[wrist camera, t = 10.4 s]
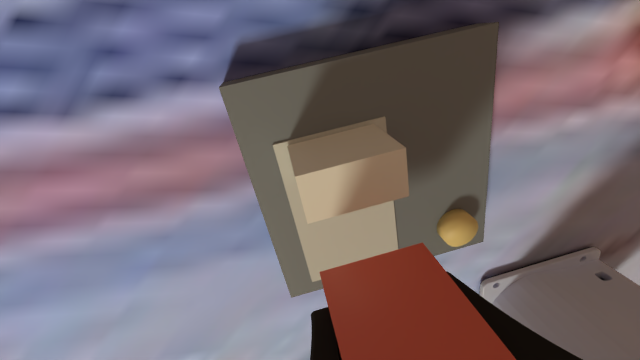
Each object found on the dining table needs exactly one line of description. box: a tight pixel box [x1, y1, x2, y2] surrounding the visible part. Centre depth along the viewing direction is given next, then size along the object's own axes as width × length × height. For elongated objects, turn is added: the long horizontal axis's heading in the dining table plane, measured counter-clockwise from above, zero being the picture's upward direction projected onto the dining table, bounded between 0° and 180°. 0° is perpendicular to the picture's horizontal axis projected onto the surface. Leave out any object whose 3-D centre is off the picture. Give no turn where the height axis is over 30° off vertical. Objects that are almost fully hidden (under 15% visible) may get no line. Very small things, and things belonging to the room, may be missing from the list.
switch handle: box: [287, 124, 409, 224], centre depth 12 cm, size 4×2×3 cm, turn 101°
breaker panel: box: [219, 22, 499, 298], centre depth 15 cm, size 12×12×2 cm
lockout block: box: [320, 242, 516, 360], centre depth 10 cm, size 4×4×5 cm
